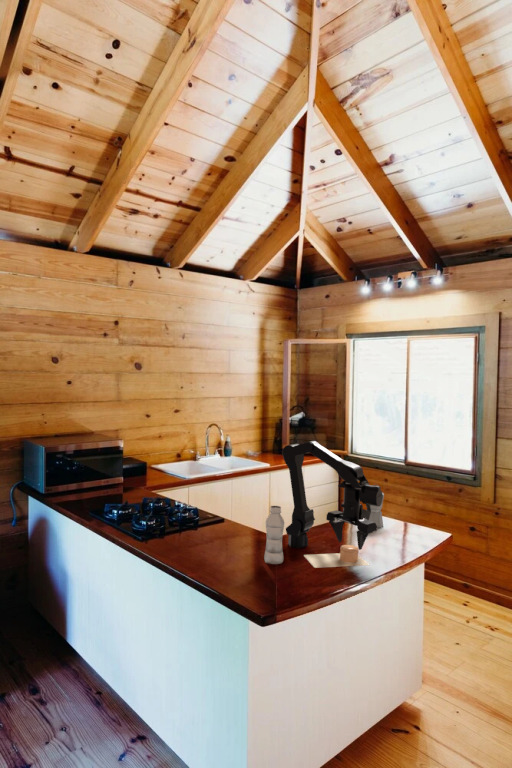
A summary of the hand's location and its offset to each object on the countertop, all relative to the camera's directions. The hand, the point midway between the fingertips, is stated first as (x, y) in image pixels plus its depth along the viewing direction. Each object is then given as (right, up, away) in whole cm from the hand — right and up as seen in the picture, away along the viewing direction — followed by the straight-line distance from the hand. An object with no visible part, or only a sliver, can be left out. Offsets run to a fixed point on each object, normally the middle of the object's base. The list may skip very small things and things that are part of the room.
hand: (349, 545), depth 176 cm
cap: (0, -5, 0) cm, 5 cm away
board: (-5, -6, -1) cm, 8 cm away
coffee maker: (+19, -7, +47) cm, 51 cm away
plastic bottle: (-27, -6, -4) cm, 28 cm away
